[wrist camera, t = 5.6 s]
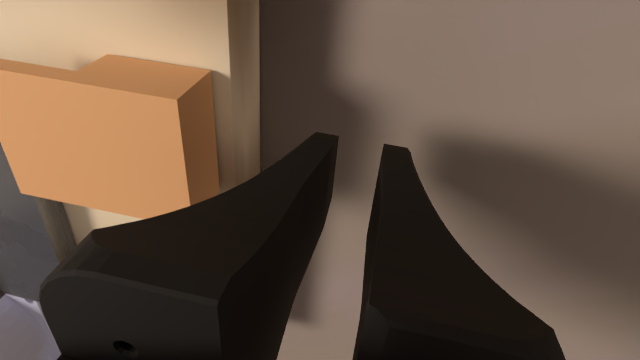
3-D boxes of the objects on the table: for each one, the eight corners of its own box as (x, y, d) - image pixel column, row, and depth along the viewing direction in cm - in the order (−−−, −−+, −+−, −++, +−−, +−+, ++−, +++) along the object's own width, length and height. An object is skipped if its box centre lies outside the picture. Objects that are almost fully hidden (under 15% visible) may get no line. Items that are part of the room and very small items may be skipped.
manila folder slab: (220, 190, 14) (193, 229, 13) (64, 159, 15) (20, 193, 13) (210, 70, 12) (176, 99, 10) (26, 41, 12) (-31, 64, 11)
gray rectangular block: (93, 298, 19) (78, 316, 18) (19, 280, 20) (1, 297, 19) (16, 62, 13) (-12, 73, 12) (-87, 44, 14) (-121, 54, 13)
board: (261, 302, 21) (229, 380, 18) (-52, 230, 23) (-131, 288, 20) (257, -201, 10) (176, -234, 7) (-315, -241, 13) (-573, -281, 9)
